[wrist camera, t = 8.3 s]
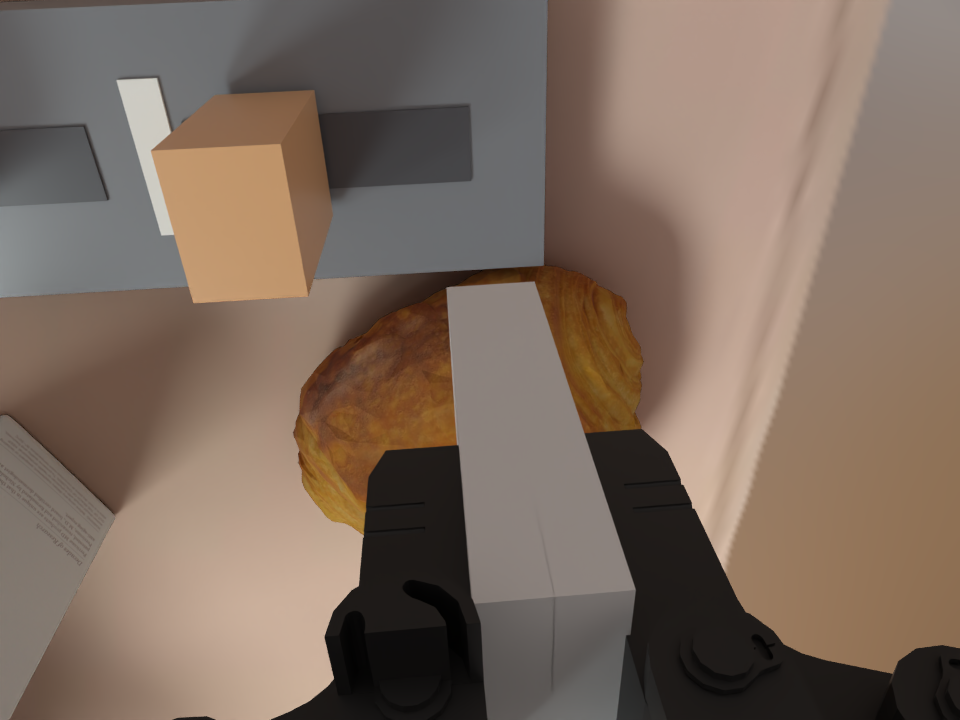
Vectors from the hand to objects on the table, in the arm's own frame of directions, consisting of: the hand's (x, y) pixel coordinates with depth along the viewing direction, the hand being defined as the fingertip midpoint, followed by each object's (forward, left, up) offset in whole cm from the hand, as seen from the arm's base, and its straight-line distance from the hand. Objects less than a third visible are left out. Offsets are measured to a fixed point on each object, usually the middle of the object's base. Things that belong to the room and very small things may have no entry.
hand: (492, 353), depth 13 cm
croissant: (0, -13, -16) cm, 20 cm away
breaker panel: (-10, 0, -16) cm, 19 cm away
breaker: (-6, 0, -12) cm, 14 cm away
